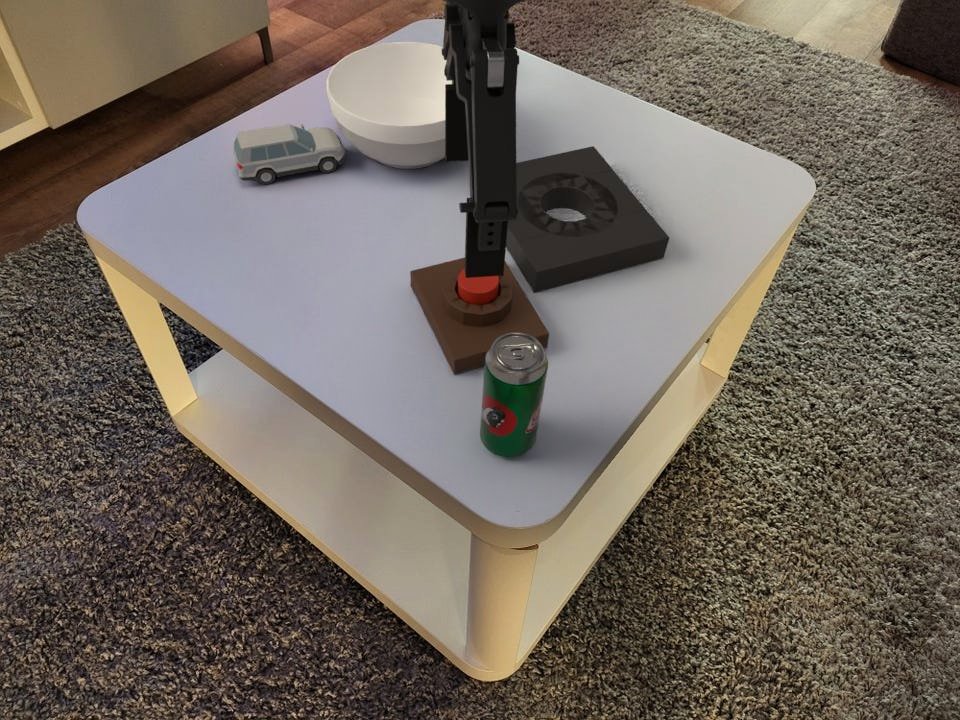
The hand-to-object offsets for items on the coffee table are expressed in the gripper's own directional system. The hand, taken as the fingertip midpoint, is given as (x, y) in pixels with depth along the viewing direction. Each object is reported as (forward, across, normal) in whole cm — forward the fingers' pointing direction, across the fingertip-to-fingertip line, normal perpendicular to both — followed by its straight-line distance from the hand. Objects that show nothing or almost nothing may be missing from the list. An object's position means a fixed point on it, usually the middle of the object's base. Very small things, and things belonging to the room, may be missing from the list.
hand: (472, 212), depth 58 cm
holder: (+20, -21, +14) cm, 32 cm away
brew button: (+16, -7, +2) cm, 18 cm away
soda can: (+20, +8, +3) cm, 22 cm away
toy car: (+20, -34, -17) cm, 43 cm away
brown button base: (+20, -7, +2) cm, 21 cm away
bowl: (+20, -38, -3) cm, 43 cm away
